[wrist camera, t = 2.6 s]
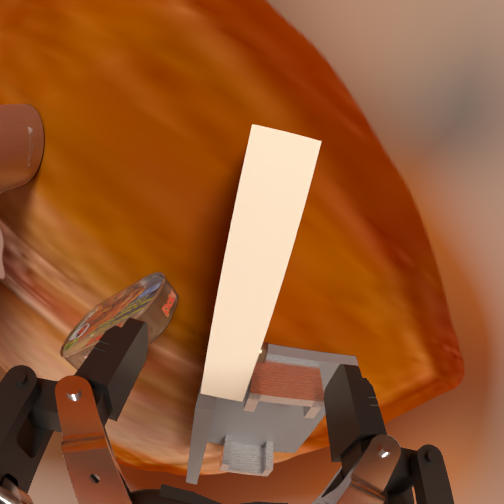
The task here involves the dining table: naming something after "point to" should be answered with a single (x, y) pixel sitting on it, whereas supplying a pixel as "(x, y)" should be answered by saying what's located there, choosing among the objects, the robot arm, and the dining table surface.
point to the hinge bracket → (265, 412)
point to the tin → (123, 315)
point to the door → (257, 255)
